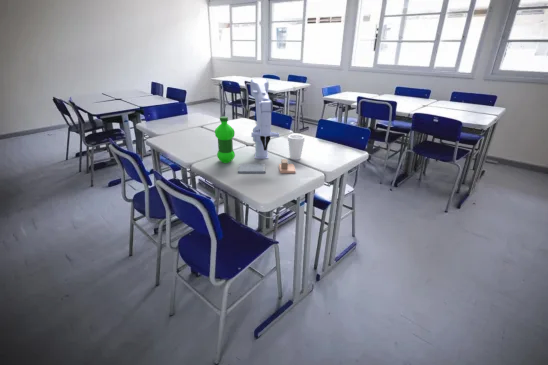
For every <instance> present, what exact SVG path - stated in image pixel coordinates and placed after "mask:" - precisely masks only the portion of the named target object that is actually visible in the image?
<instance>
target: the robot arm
mask: <svg viewBox="0 0 548 365" xmlns="http://www.w3.org/2000/svg"><path fill="white" fill-rule="evenodd" d="M249 83H250V95H251V96H252V97H253V98H254V100H255V112H256V113H255V115H256V124H257V125H256V126H254V127H253V129H252V132H251V135H250V137H251V138H252V141H253V142H254V143H255V149H254V150H255V151H254V159H261V160H262V159H264V160H265V159H267V160H268V159H269V152H268V151H269V150H268V148H269V147H268V146H269V143H270V141H271V138H280V132H273V131H272V113H273V101H272V100H271V99H270V95H269V94H268V92H269V88H270V87H269V86H270V84H269V83H270V82H269V80H268V79H253V78H252V79H250V82H249Z"/></svg>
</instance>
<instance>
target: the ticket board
mask: <svg viewBox="0 0 548 365" xmlns="http://www.w3.org/2000/svg"><path fill="white" fill-rule="evenodd" d="M237 173H238V174H266V164H265V163H239V165H238V170H237Z"/></svg>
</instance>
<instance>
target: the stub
mask: <svg viewBox="0 0 548 365" xmlns="http://www.w3.org/2000/svg"><path fill="white" fill-rule="evenodd" d="M280 161H281V162H280V163H279V164H278V169H279V174H296V172H297V171H296V168H295V167H296V166H295V165H294V163H289V162H288V159H286V158H285V159H284V158H283V159H281V160H280Z"/></svg>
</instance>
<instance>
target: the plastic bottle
mask: <svg viewBox="0 0 548 365" xmlns="http://www.w3.org/2000/svg"><path fill="white" fill-rule="evenodd" d="M219 121H220V124H219V125H218V126H217V127H216V128H215V130H214V135H215V137H216V139H217V146H218V147H217V148H218V150H217V153H216V156H217V159H218V161H219V162H221V163H223V164H229V163H231V162H232V161H233V160H234V158H235V157H236V153H235V152H234V147H233V138H234V137H235V135H236V134H235V133H236V132H235V130H234V128H233V127H232V126H231V125H229V123H228V121H229V116H220V117H219Z"/></svg>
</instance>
